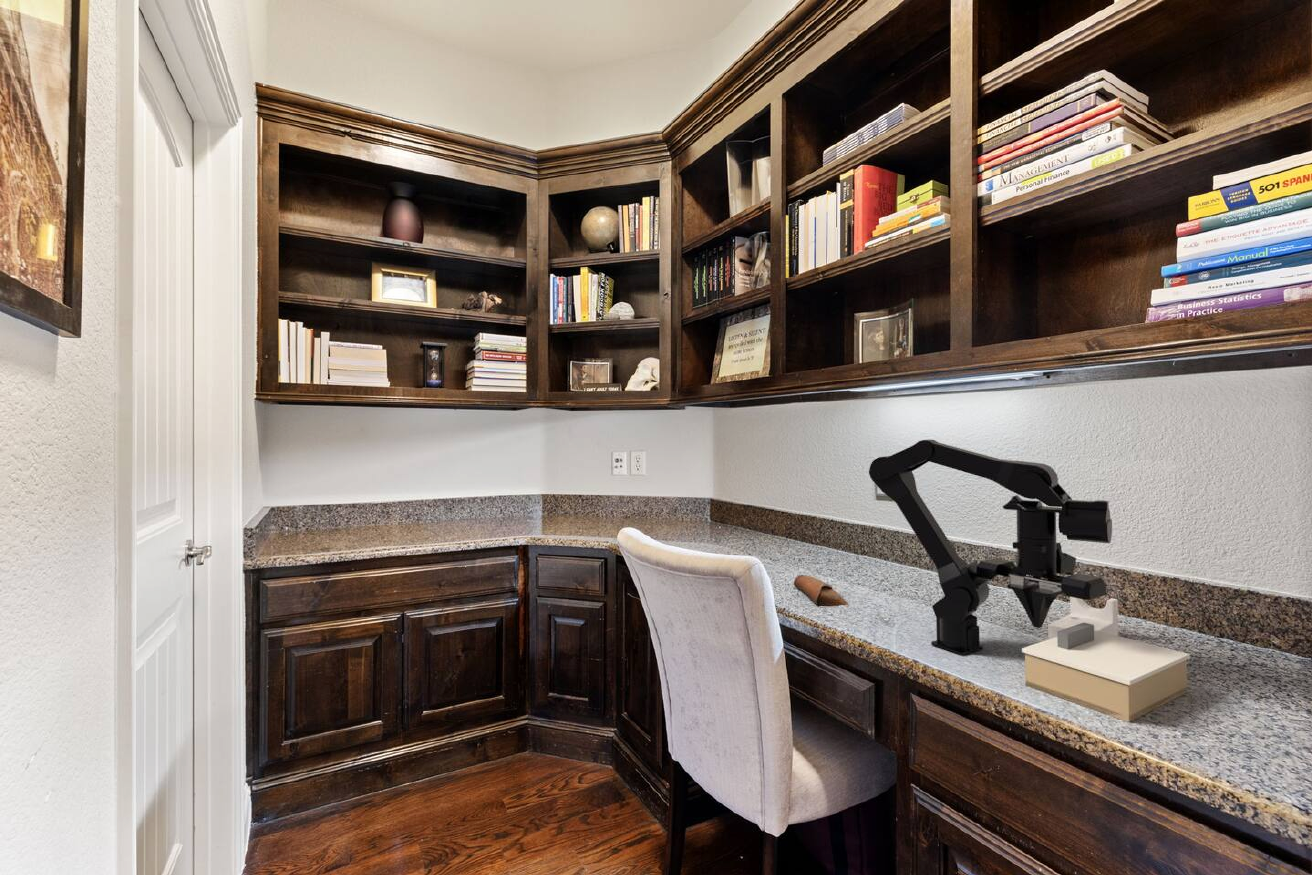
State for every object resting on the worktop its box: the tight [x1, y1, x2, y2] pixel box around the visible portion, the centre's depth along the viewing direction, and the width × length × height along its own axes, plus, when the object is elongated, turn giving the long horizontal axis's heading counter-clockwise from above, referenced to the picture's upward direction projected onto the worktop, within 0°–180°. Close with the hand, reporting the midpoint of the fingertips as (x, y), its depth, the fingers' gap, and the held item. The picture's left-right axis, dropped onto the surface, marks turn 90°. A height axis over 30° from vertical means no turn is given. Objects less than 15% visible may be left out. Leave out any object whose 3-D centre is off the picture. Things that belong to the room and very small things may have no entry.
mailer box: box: [1024, 653, 1188, 723], centre depth 94 cm, size 14×18×5 cm
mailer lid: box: [1021, 623, 1191, 685], centre depth 93 cm, size 15×19×3 cm
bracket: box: [1047, 596, 1119, 639], centre depth 115 cm, size 13×7×8 cm, turn 126°
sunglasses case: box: [793, 574, 850, 607], centre depth 148 cm, size 18×7×7 cm
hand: (1037, 627), depth 103 cm, fingers closed
